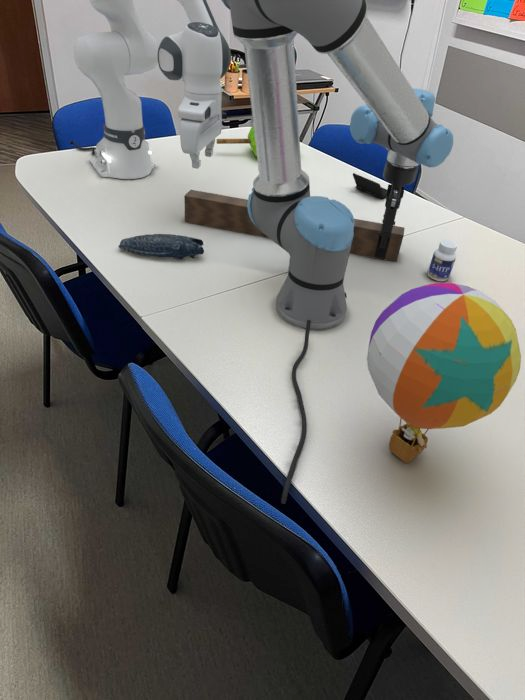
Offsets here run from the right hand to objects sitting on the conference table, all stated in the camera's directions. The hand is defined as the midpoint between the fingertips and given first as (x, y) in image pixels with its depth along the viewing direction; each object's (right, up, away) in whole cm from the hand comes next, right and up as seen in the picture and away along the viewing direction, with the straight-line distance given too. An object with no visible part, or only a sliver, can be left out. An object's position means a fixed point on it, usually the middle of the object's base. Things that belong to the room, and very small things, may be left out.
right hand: (380, 252), depth 135 cm
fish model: (-56, -2, -8) cm, 56 cm away
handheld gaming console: (+4, +26, +34) cm, 42 cm away
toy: (-8, -42, -52) cm, 68 cm away
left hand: (-46, +23, -2) cm, 52 cm away
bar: (-24, +5, +4) cm, 24 cm away
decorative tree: (-33, +45, +54) cm, 77 cm away
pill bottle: (+13, -7, -7) cm, 16 cm away
